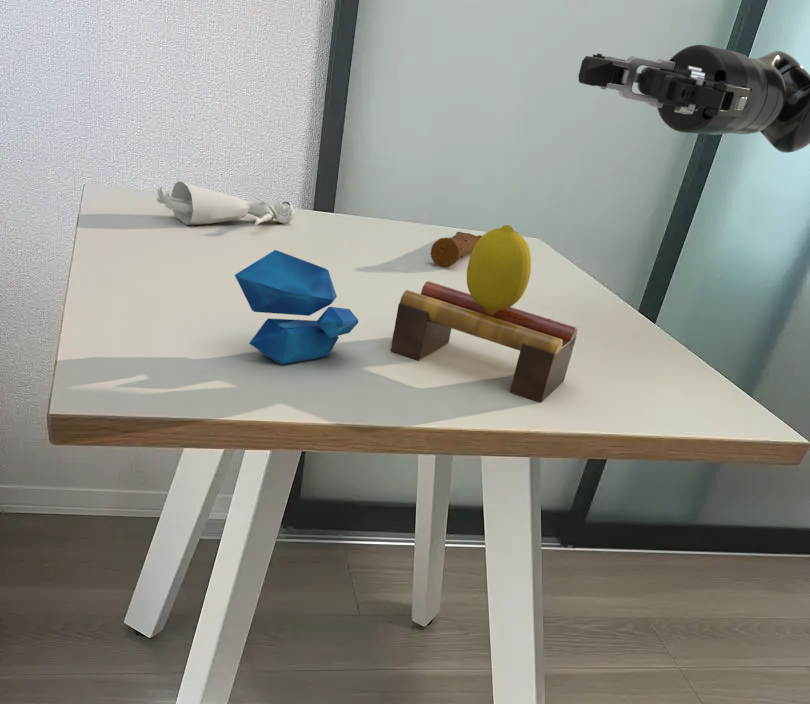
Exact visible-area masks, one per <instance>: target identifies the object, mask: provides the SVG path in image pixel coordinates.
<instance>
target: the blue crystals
mask: <svg viewBox="0 0 810 704" xmlns="http://www.w3.org/2000/svg"><path fill="white" fill-rule="evenodd" d="M234 277H235V279H236V281H237V283H238V285H239V286H240V289H241V291H242V293H243V296H244V297H245V298H246V301H247V304H248V305H249V307H250V310H251V311H252V312H254V313H264V314H278V315H294V316H304V317H305V316H307V317H308V316H309V317H310V316H312V315H314V314H316V313H318V312H319V311H321V310H322V309H324V308H326V309H325V310H324V312H323V313H322V314H321V315H320V316H319V318H317V320H312V319H311V320H310V319H289V318H267V319H266V320H265V321H264V322H263V324H262V325H261V327H260V328H259V329H258V331H257V332H256V333H255V335H254V336H253V337H252V339H251V340H250V341H249V345H251V346H252V347H253V348H255V349H256V350H258V351H259V352H260V353H262V354H263V355H264V356H266V357H267V358H268V359H270V360H272V361H274V362H275V363H277V364H278V365H279V366H282V365H288V364H293V363H299V362H305V361H309V360H310V361H311V360H315V359H316V360H317V359H322V358H327V357H328V356H330V354H331V353H332V350H333V349H334V347H335V345H336V344H337V342H338V340H339V337H340V336H342V335H346V334H350V333H351V332H352V330H353V329H354V328H355V327H357V325H358V324H359V319H358V317H356V315H355V314H354V312H353V311H352V310H351V309H350V308H344V307H337V306H330V305H332V304H333V302H334V301H335V300H336V298H338V296H337V292H336V290H335V286H334V283H333V281H332V278H331V273H330V271H329V269H327V268H326V267H323V266H321V265H317V264H315V263H312V262H309V261H307V260H304V259H301V258H298V257H296V256H293V255H290V254H287V253H286V252H285V253H284V252H283V251H279V250H277V249H274V250H273V251H271V252H269V253H268V254H266V255H264V256H262V257H261V258H259V259H257V260H256V261H255V262H253V263H251V264H250V265H248V266H246V267H245V268H243V269H241V270H240V271H239V272H237V273H235V274H234Z"/></svg>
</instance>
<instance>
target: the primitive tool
mask: <svg viewBox="0 0 810 704" xmlns="http://www.w3.org/2000/svg"><path fill="white" fill-rule="evenodd" d="M482 236H483V235H481V234H479V235H474V234H472V233H470V232H469V233H468V232H461V231H456V233H455V235H453V236H452V237H441V238H438V239H437V240H436V241H434V243H433V244H432V246H431V248H430V258H431V260H432V261H433V263H435V265H437V266H438V267H441V268H449V267H451V266H453V265H454V264H456V263H457V261H458V260H459V258H462V259H463V258H464V257H465V255H467V254H471V253H472V251H473V248H474V246H475V244H476V243H477V241H478V240H479V239H480V238H481V237H482Z"/></svg>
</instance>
